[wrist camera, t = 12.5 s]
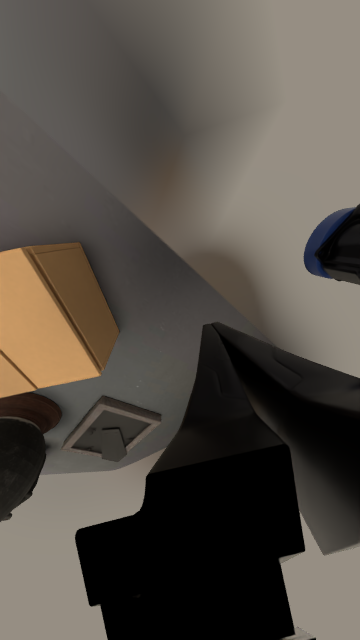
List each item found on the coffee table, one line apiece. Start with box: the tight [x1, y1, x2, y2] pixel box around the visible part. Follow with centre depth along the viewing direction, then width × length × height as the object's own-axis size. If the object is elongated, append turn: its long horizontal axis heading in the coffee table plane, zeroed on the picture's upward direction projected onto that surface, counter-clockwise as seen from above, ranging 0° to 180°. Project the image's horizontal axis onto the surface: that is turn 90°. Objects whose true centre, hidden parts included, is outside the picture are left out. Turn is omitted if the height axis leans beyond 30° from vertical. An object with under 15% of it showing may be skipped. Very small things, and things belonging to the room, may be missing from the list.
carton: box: [0, 242, 119, 398], centre depth 16 cm, size 13×12×8 cm
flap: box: [0, 248, 102, 388], centre depth 13 cm, size 6×12×1 cm, turn 10°
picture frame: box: [61, 396, 161, 462], centre depth 33 cm, size 13×2×18 cm
